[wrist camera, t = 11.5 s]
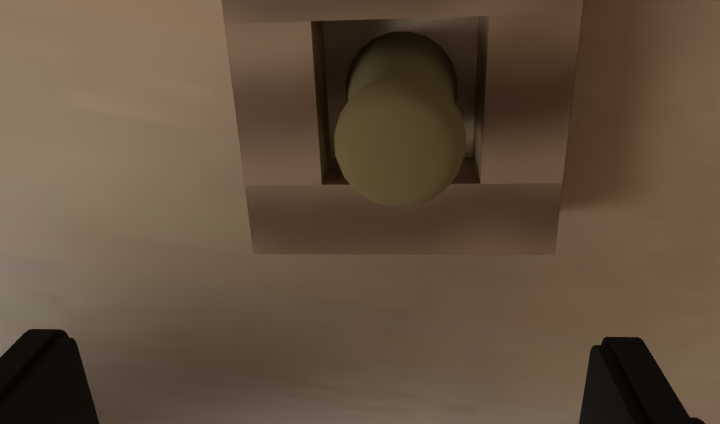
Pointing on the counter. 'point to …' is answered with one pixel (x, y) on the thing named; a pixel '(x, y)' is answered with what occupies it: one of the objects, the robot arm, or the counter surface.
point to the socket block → (474, 100)
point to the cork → (400, 121)
